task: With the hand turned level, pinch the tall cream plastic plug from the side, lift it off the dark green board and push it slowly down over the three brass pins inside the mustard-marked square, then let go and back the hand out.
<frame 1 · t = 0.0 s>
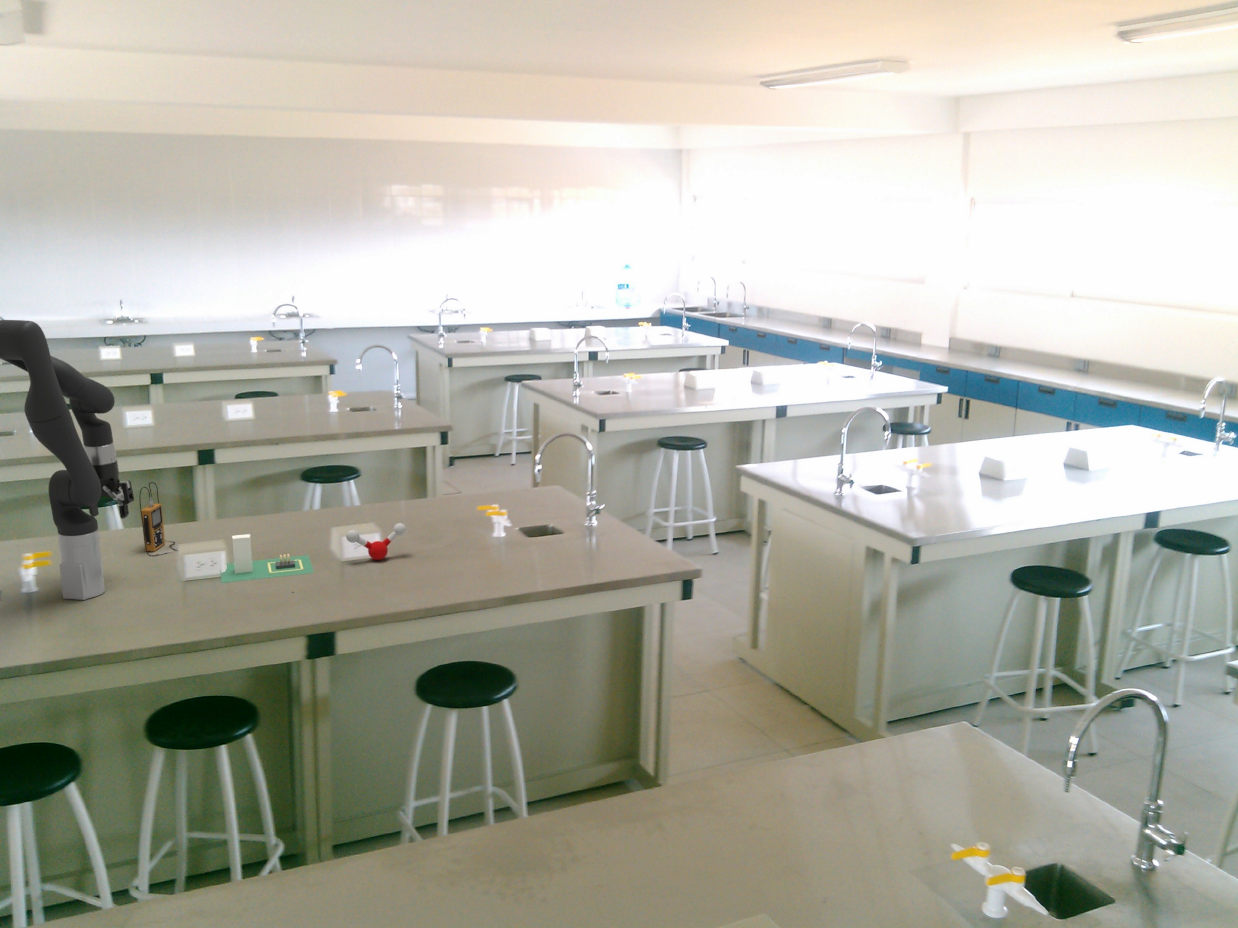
hand: (109, 516, 271), 17 cm above the lab bench, tool pointing down, fingers open, 8 cm apart
molecular model: (378, 560, 293), on the lab bench
multimeter: (167, 549, 299), on the lab bench
circuit board: (266, 573, 279), on the lab bench
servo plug: (243, 570, 277), point 1 cm above the lab bench, touching circuit board
pin header: (285, 566, 281), resting on circuit board
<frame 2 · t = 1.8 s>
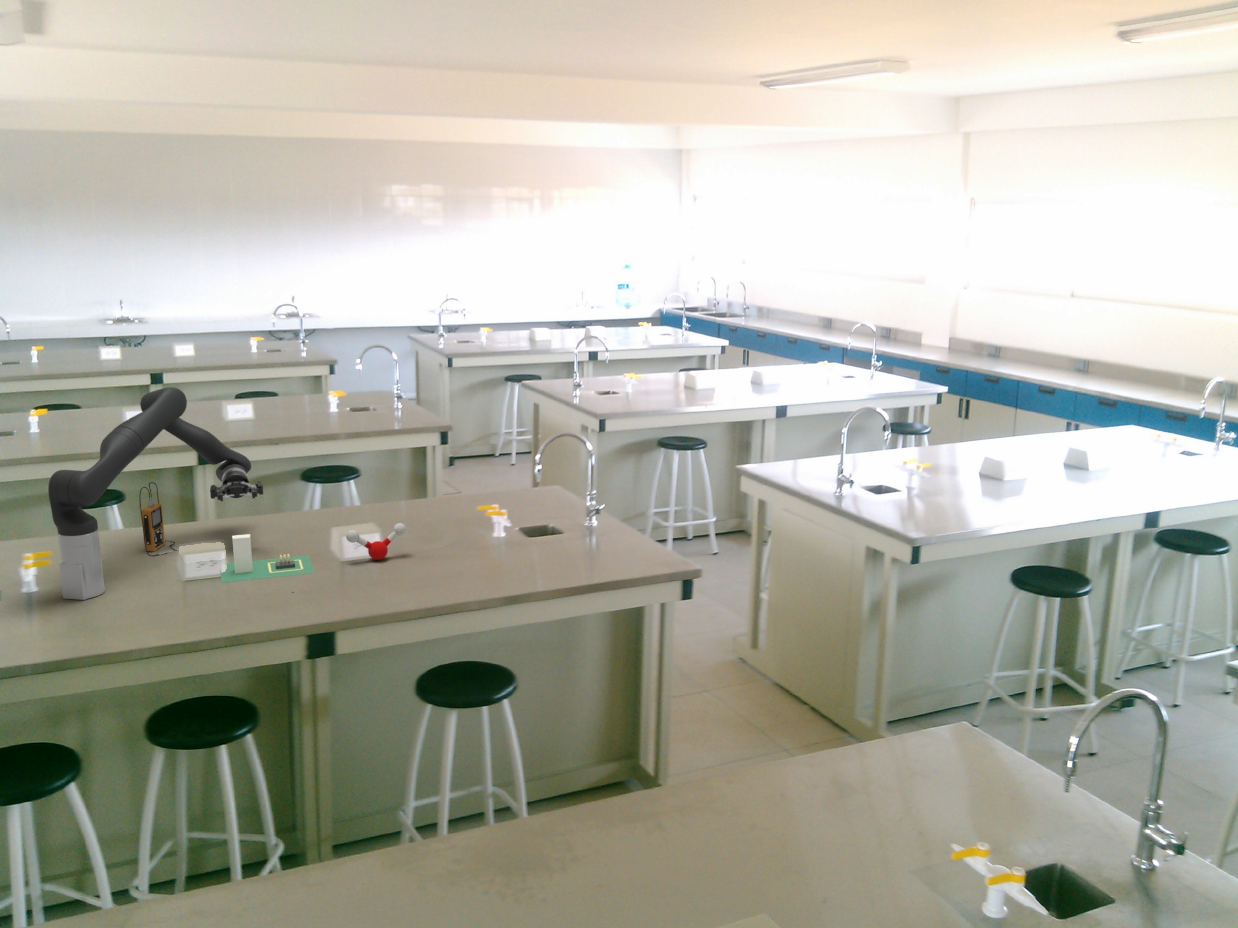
hand: (237, 496, 283), 20 cm above the lab bench, tool horizontal, fingers open, 8 cm apart
nothing on the lab bench moved.
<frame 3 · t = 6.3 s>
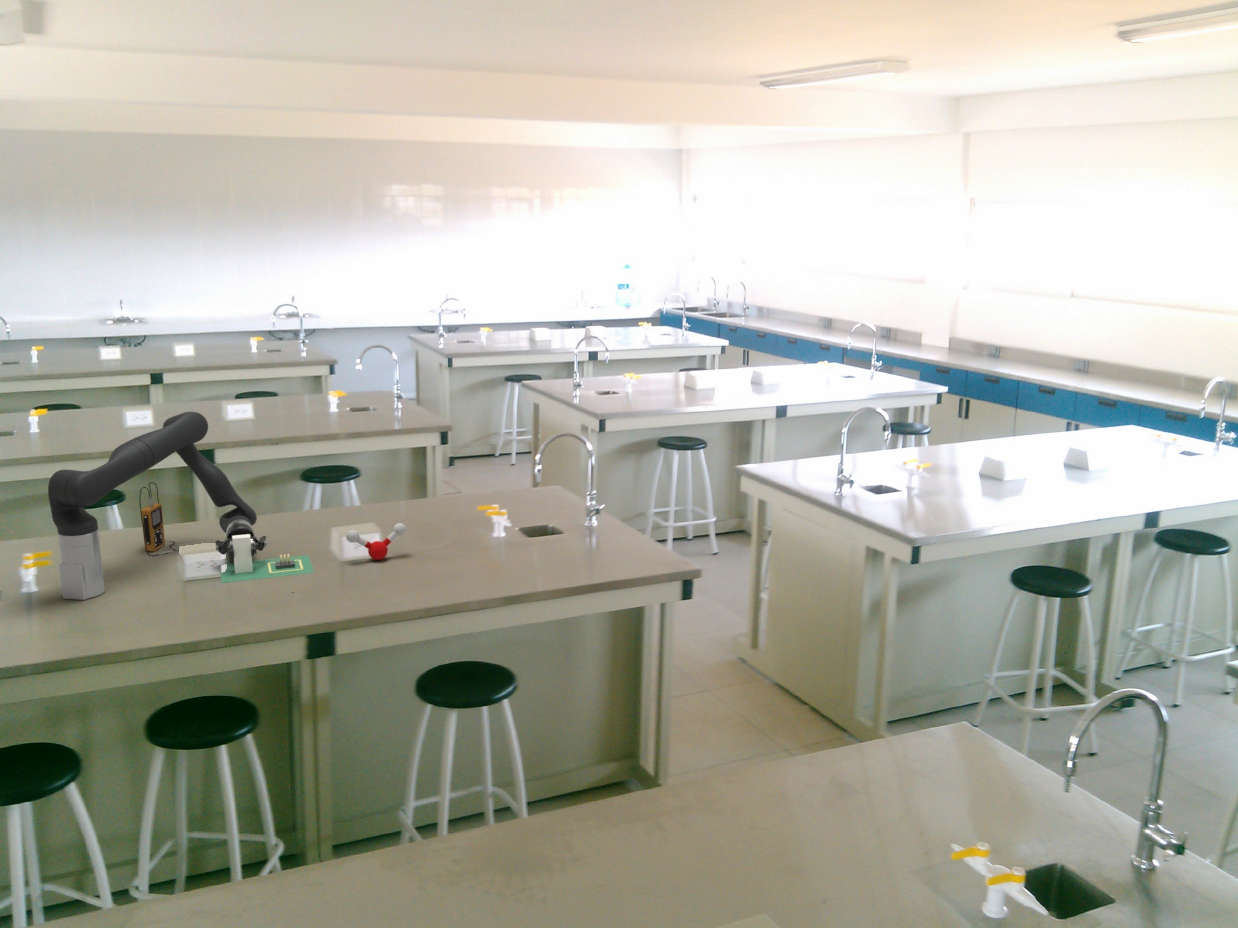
hand: (242, 553, 273), 7 cm above the lab bench, tool horizontal, fingers closed on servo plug, 4 cm apart
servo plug: (243, 570, 277), point 2 cm above the lab bench, touching circuit board, gripper
everything else where it was.
when the fingers open (9 cm above the lab bench, at t = 10.8 s): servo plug stays where it is, resting on pin header.
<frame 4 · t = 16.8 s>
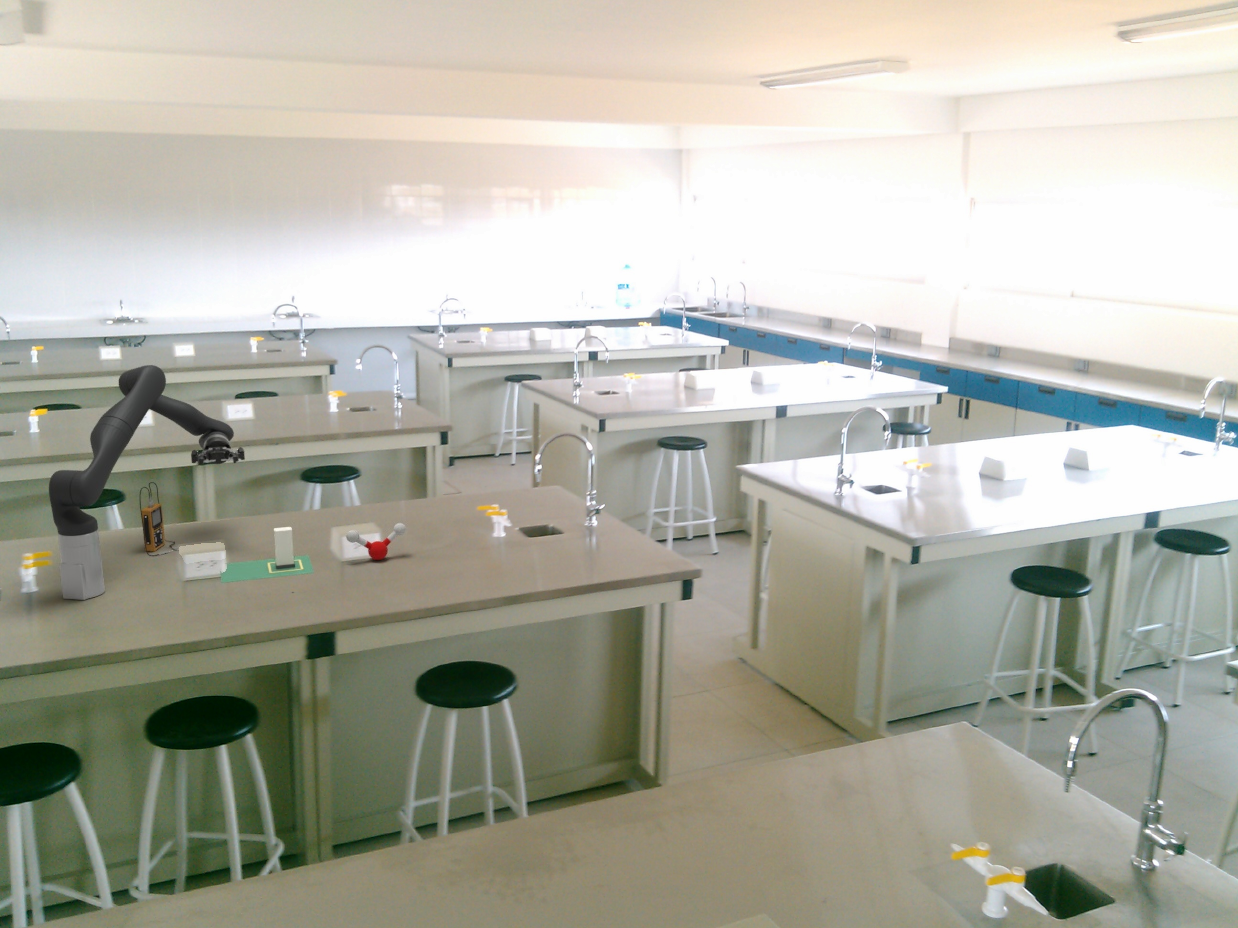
hand: (218, 460, 282), 30 cm above the lab bench, tool horizontal, fingers open, 8 cm apart
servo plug: (284, 562, 281), point 2 cm above the lab bench, touching pin header
everything else where it was.
at the end: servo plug 0.1 cm from the pin header (horizontally); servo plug point 2.5 cm above the lab bench; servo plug tilted 0° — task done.
